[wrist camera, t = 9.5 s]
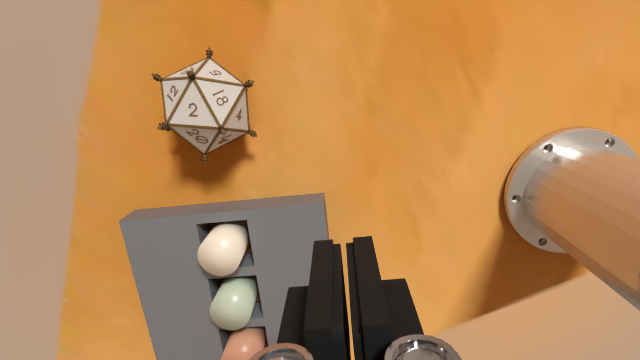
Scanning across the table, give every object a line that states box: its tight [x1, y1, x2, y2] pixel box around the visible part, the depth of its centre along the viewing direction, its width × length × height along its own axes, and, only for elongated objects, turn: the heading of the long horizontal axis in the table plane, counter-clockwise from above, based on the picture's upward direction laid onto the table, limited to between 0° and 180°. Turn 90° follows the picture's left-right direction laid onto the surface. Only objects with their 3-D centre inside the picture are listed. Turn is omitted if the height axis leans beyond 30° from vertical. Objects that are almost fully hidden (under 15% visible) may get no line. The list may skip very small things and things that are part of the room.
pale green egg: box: [209, 275, 259, 330], centre depth 39 cm, size 4×4×5 cm
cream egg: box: [197, 220, 250, 276], centre depth 38 cm, size 4×4×5 cm
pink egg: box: [221, 326, 267, 360], centre depth 41 cm, size 4×4×5 cm
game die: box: [151, 47, 258, 165], centre depth 33 cm, size 9×8×10 cm
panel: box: [119, 193, 329, 360], centre depth 41 cm, size 20×19×3 cm
